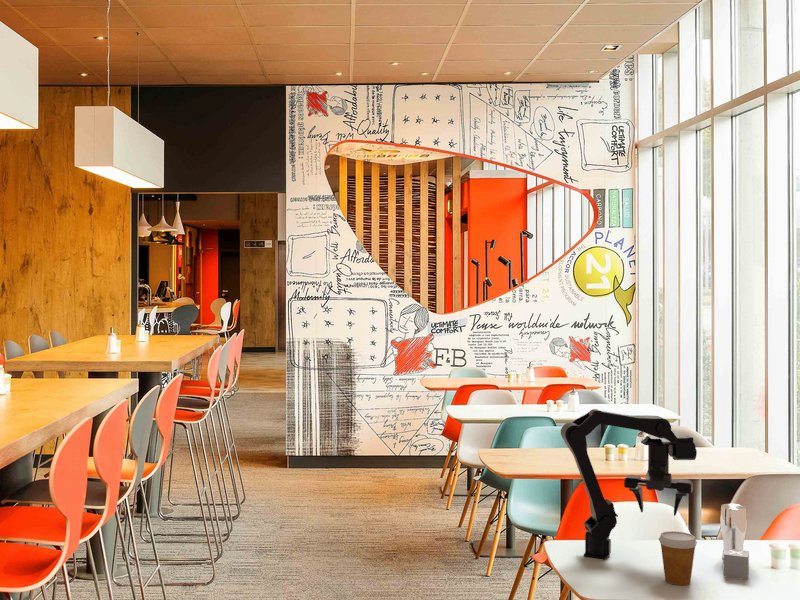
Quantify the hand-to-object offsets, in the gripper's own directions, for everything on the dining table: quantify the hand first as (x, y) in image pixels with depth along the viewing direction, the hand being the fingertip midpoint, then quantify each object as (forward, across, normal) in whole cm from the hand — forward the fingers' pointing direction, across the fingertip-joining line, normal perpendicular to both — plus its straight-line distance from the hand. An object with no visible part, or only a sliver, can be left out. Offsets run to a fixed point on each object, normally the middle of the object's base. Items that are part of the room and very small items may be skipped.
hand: (658, 513), depth 240 cm
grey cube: (+12, +22, -9) cm, 26 cm away
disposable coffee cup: (+12, +8, -22) cm, 26 cm away
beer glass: (+12, +20, +6) cm, 24 cm away
